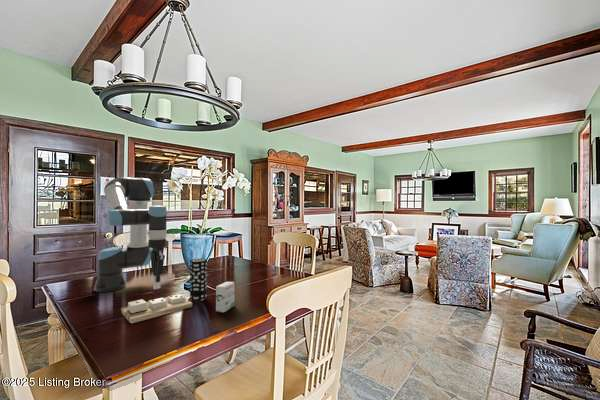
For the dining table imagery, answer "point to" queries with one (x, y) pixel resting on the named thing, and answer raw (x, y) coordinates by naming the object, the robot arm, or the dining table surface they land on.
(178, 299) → the three pip tile
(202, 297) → the spotted tube
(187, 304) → the button board
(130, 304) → the one pip tile
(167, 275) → the dining table surface
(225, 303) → the ink box
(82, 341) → the dining table surface
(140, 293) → the dining table surface
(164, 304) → the two pip tile
